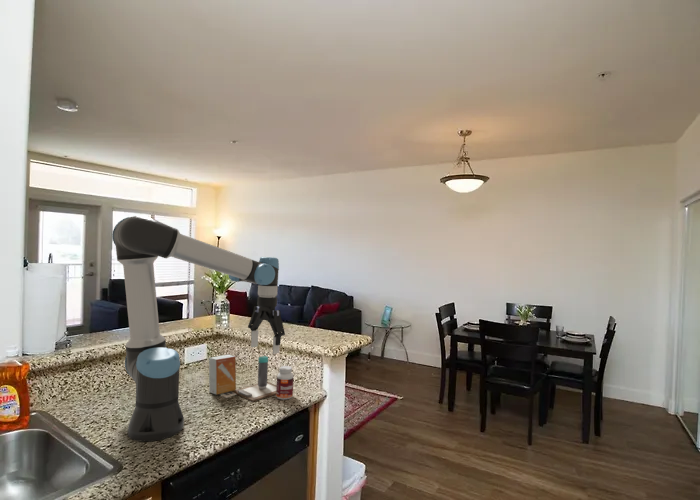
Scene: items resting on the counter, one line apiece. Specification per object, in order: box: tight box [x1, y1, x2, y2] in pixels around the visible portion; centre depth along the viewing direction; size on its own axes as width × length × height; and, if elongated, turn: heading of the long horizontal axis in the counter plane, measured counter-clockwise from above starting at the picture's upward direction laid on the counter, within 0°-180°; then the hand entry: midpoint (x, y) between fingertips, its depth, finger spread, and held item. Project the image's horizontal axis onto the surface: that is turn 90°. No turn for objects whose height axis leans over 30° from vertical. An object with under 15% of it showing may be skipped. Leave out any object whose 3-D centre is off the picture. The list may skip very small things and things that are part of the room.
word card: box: [218, 391, 238, 399], centre depth 149 cm, size 7×5×1 cm
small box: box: [208, 354, 237, 395], centre depth 151 cm, size 8×6×13 cm
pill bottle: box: [275, 365, 294, 401], centre depth 148 cm, size 6×6×11 cm
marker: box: [257, 355, 269, 389], centre depth 154 cm, size 4×4×12 cm
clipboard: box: [232, 381, 277, 403], centre depth 152 cm, size 16×13×1 cm
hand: (264, 350), depth 155 cm, fingers open, 13 cm apart
